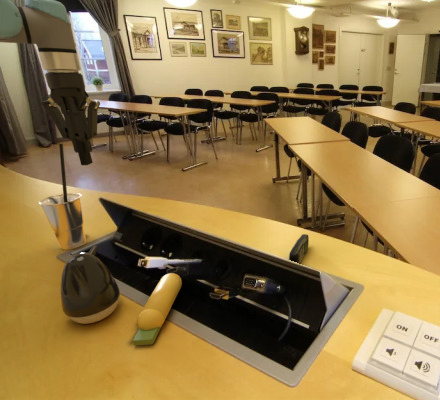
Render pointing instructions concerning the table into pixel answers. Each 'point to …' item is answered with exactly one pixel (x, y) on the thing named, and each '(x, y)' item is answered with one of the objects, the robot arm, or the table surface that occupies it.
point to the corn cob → (157, 309)
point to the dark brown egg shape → (88, 288)
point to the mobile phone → (299, 249)
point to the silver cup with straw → (65, 214)
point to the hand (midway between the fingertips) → (87, 164)
